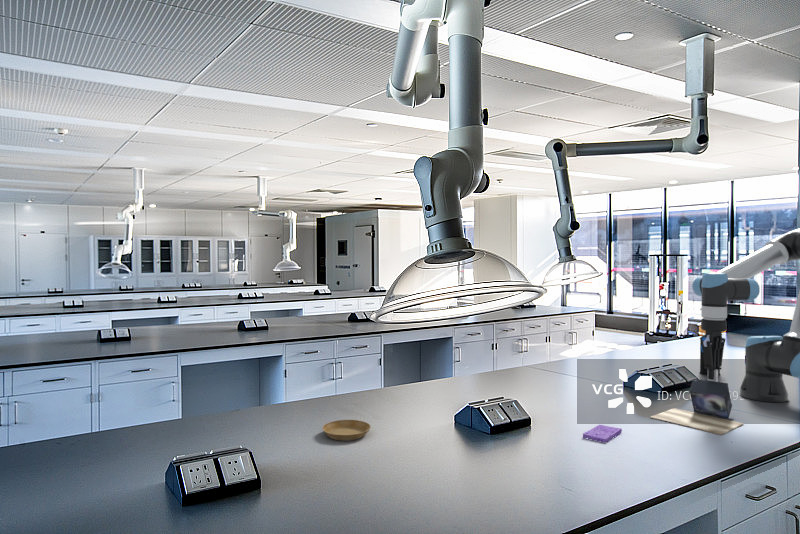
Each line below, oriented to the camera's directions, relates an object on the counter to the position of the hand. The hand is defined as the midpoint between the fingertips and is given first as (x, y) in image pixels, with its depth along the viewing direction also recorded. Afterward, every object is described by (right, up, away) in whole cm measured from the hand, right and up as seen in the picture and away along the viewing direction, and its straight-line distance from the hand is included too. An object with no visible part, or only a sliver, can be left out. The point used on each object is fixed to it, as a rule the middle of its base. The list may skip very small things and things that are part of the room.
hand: (712, 388), depth 187 cm
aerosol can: (+33, -7, +60) cm, 69 cm away
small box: (0, -7, 0) cm, 7 cm away
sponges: (-44, -10, -20) cm, 50 cm away
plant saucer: (-122, -11, -18) cm, 124 cm away
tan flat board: (-9, -9, -7) cm, 15 cm away
